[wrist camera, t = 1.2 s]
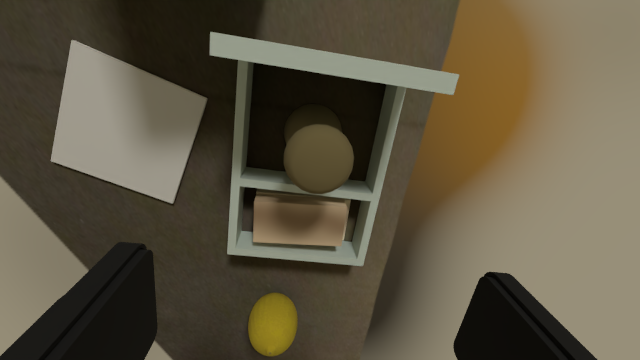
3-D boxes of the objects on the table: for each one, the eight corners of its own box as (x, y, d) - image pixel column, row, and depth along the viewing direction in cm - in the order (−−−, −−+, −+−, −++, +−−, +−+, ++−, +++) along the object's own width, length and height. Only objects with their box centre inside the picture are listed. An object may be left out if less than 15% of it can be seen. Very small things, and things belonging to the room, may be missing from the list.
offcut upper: (339, 236, 33) (341, 246, 32) (255, 232, 33) (253, 242, 31) (344, 198, 32) (346, 207, 30) (256, 193, 31) (254, 201, 29)
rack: (357, 248, 36) (383, 329, 25) (233, 236, 34) (202, 318, 23) (397, 71, 29) (459, 74, 18) (246, 45, 27) (210, 31, 16)
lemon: (245, 289, 37) (232, 344, 30) (286, 272, 37) (283, 325, 29) (266, 319, 39) (258, 379, 32) (304, 304, 39) (306, 361, 31)
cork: (278, 154, 31) (268, 197, 21) (290, 96, 29) (286, 112, 19) (333, 167, 32) (349, 213, 22) (349, 111, 30) (375, 134, 20)
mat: (174, 202, 32) (172, 203, 32) (53, 159, 30) (50, 161, 30) (208, 98, 29) (207, 98, 29) (74, 40, 26) (71, 40, 26)
